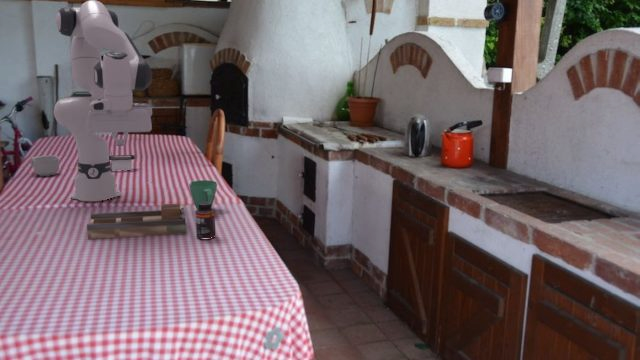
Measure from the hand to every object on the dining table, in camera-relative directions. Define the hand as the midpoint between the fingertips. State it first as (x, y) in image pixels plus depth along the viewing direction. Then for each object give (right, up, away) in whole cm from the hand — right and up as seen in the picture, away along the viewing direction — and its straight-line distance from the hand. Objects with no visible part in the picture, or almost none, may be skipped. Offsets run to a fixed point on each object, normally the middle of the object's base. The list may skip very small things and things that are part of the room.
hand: (120, 145), depth 208 cm
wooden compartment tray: (+6, -28, 0) cm, 28 cm away
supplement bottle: (+29, -30, -7) cm, 42 cm away
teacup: (-58, -9, +76) cm, 96 cm away
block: (+16, -24, +1) cm, 29 cm away
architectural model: (-27, -8, +87) cm, 91 cm away
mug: (+24, -23, +22) cm, 40 cm away
